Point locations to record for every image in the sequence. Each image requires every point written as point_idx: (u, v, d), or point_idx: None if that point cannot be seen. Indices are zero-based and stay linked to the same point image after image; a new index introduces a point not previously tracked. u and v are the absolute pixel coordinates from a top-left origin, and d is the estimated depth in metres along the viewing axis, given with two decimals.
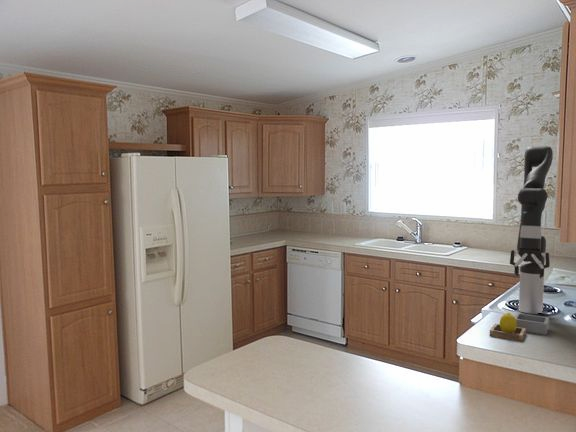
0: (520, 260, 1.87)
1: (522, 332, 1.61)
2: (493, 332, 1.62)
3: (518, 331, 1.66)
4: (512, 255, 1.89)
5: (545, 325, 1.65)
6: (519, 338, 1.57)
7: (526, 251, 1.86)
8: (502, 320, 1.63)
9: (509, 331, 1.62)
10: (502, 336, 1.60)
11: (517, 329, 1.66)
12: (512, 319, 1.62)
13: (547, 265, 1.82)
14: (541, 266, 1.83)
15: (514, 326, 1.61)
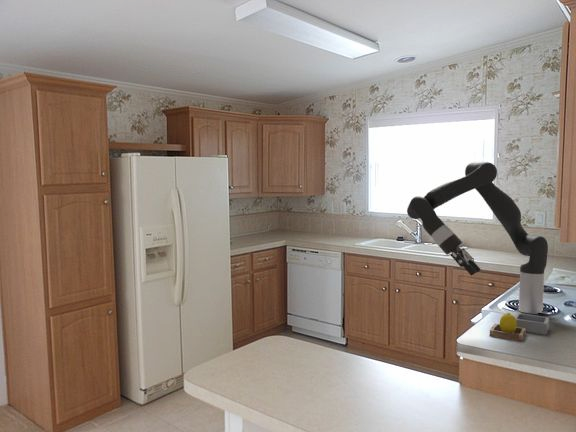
0: None
1: (522, 332, 1.61)
2: (493, 332, 1.62)
3: (518, 331, 1.66)
4: None
5: (545, 325, 1.65)
6: (519, 338, 1.57)
7: None
8: (502, 320, 1.63)
9: (509, 331, 1.62)
10: (502, 336, 1.60)
11: (517, 329, 1.66)
12: (512, 319, 1.62)
13: None
14: None
15: (514, 326, 1.61)
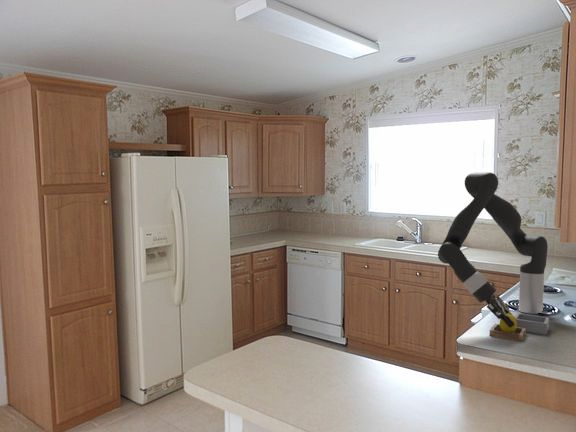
0: None
1: (522, 332, 1.61)
2: (493, 332, 1.62)
3: (518, 331, 1.66)
4: None
5: (545, 325, 1.65)
6: (519, 338, 1.57)
7: None
8: (502, 320, 1.63)
9: (509, 331, 1.62)
10: (502, 336, 1.60)
11: (517, 329, 1.66)
12: (512, 319, 1.62)
13: None
14: None
15: (514, 326, 1.61)
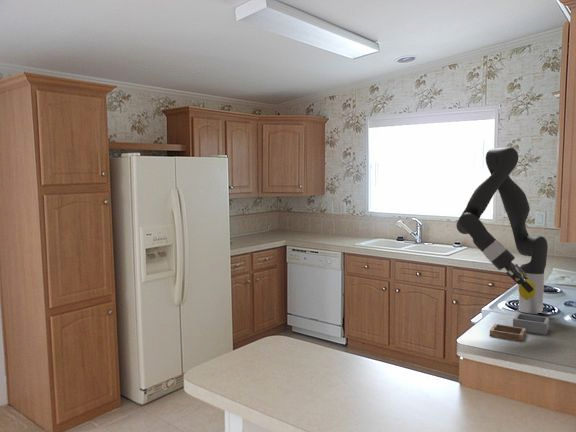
0: None
1: (522, 332, 1.61)
2: (493, 332, 1.62)
3: (518, 331, 1.66)
4: None
5: (545, 325, 1.65)
6: (519, 338, 1.57)
7: None
8: (521, 286, 1.69)
9: (528, 296, 1.68)
10: (502, 336, 1.60)
11: (517, 329, 1.66)
12: (531, 285, 1.67)
13: None
14: None
15: (533, 291, 1.67)
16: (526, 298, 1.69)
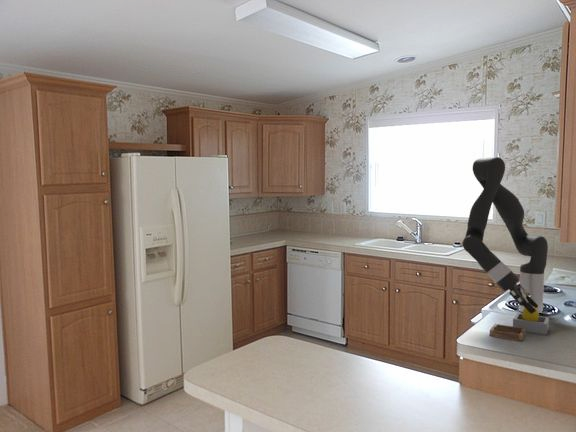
0: None
1: (522, 332, 1.61)
2: (493, 332, 1.62)
3: (518, 331, 1.66)
4: None
5: (545, 325, 1.65)
6: (519, 338, 1.57)
7: None
8: (525, 312, 1.72)
9: None
10: (502, 336, 1.60)
11: (517, 329, 1.66)
12: None
13: None
14: None
15: (536, 317, 1.70)
16: None
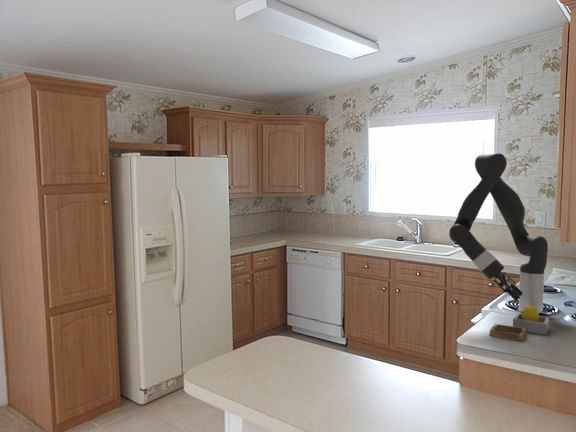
0: None
1: (522, 332, 1.61)
2: (493, 332, 1.62)
3: (518, 331, 1.66)
4: None
5: (545, 325, 1.65)
6: (519, 338, 1.57)
7: None
8: (525, 312, 1.72)
9: None
10: (502, 336, 1.60)
11: (517, 329, 1.66)
12: (534, 310, 1.70)
13: None
14: None
15: (536, 317, 1.70)
16: None
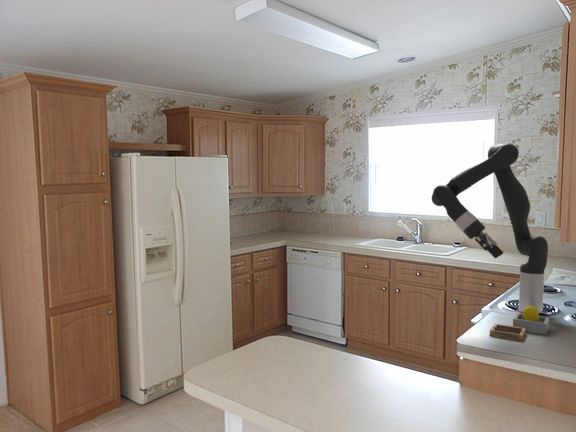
0: None
1: (522, 332, 1.61)
2: (493, 332, 1.62)
3: (518, 331, 1.66)
4: None
5: (545, 325, 1.65)
6: (519, 338, 1.57)
7: None
8: (525, 312, 1.72)
9: None
10: (502, 336, 1.60)
11: (517, 329, 1.66)
12: (534, 311, 1.70)
13: None
14: None
15: (536, 317, 1.70)
16: None
